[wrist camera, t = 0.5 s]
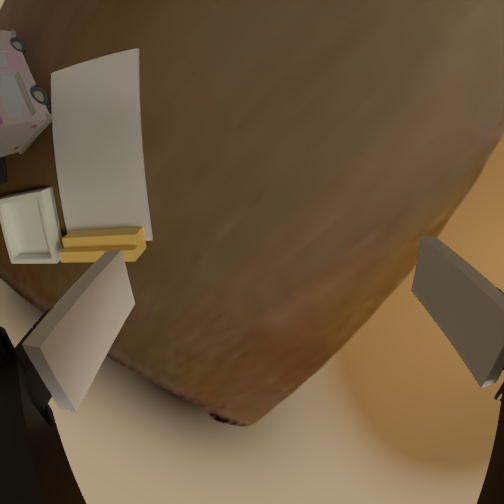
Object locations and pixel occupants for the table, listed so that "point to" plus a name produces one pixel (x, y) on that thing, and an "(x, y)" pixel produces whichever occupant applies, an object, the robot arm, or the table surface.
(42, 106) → the toy vehicle
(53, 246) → the tray
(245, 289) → the table surface
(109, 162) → the mat
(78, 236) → the block
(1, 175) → the socket
